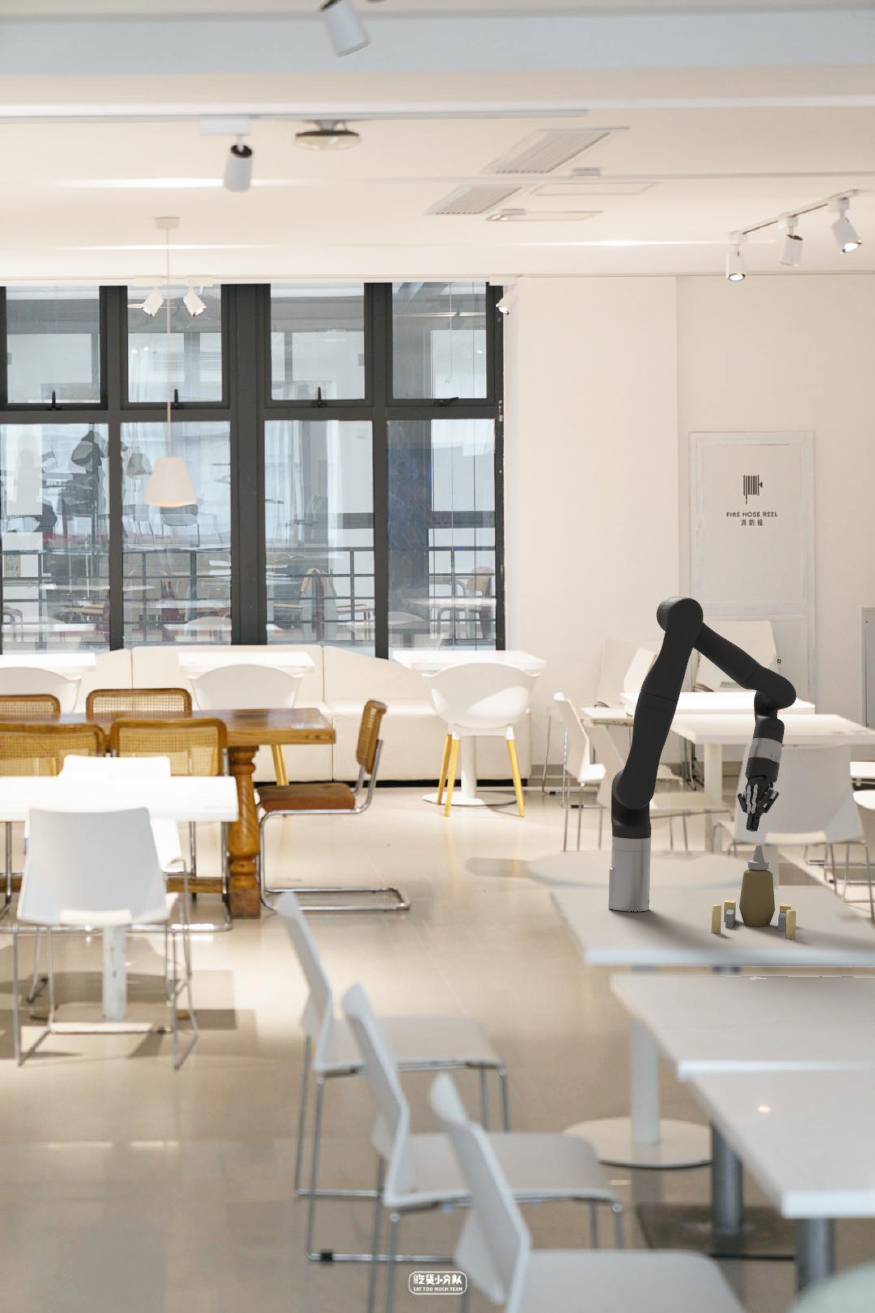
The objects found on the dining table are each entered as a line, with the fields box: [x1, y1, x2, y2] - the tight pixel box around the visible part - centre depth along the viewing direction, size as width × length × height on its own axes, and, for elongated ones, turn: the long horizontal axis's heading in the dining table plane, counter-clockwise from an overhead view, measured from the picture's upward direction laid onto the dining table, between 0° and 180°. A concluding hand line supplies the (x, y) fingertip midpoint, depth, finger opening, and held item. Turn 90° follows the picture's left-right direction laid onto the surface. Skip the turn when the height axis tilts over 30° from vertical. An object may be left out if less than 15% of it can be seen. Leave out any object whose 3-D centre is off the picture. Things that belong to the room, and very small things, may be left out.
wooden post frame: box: [710, 899, 797, 940], centre depth 342 cm, size 18×18×6 cm
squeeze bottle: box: [738, 844, 776, 927], centre depth 346 cm, size 8×8×18 cm
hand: (751, 830), depth 357 cm, fingers closed
